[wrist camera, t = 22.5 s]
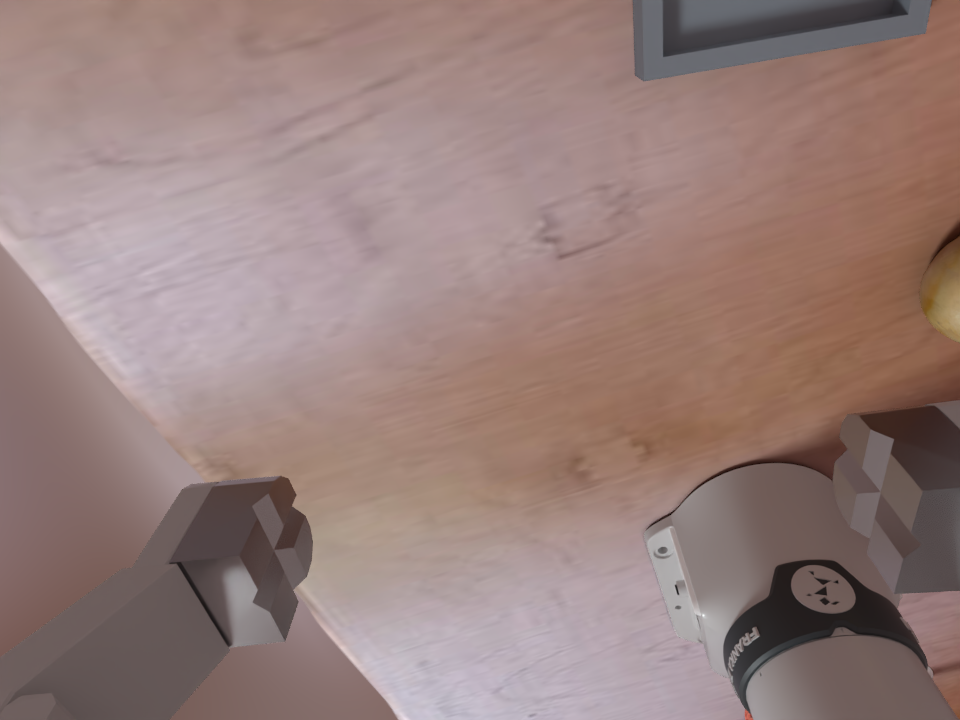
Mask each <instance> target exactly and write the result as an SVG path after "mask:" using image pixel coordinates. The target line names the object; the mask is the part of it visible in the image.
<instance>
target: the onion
mask: <svg viewBox="0 0 960 720" xmlns="http://www.w3.org/2000/svg"><path fill="white" fill-rule="evenodd" d="M919 296H920V305H921V308H922V310H923V313H924V314H925V316H926V318H927V319H928V321H929V322H930V324H931V325H932V326H933V327H934V328H935V329H937V330H938V331H939V332H940V333H942V334H943V335H945V336H946V337H948V338H950V339H952V340H954V341H956V342H959V343H960V235H959V236H958V237H957V239H955V240H953V241H952V242H950V243H949V244H947V245H946V246H945V247H944V248H943V249H942V250H941V251H940V252H939V253H938V254H937V255H936V256H935V258H934V259H933V261H932V262H931V263H930V265H929V266H928V268H927V270H926V271H925V273H924V275H923V278H922V281H921V285H920V291H919Z"/></svg>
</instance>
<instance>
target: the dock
mask: <svg viewBox="0 0 960 720" xmlns="http://www.w3.org/2000/svg"><path fill="white" fill-rule="evenodd" d="M931 1H932V0H633V21H634V55H635V76H637V77H638V78H640V79H641V80H643V81H649V80H654V79H660V78H666V77H672V76H678V75H684V74H690V73H696V72H702V71H707V70H713V69H719V68H725V67H731V66H737V65H743V64H749V63H754V62H760V61H766V60H772V59H778V58H784V57H790V56H796V55H801V54H807V53H813V52H819V51H825V50H831V49H837V48H843V47H849V46H854V45H860V44H866V43H872V42H878V41H884V40H890V39H896V38H901V37H907V36H913V35H919V34H925V33H926V28H927V23H928V17H929V12H930V7H931Z"/></svg>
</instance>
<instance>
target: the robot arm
mask: <svg viewBox="0 0 960 720" xmlns="http://www.w3.org/2000/svg"><path fill="white" fill-rule="evenodd" d="M839 438H840V439H841V441H842V442H843V443H844V445H845V446H846V447H847V450H846V451H845V452H844V453H843V454H842V455H841V456H840V457H839V458H838V459H837V460H836V461H835V464H834V472H833V481H831V480H830V479H829V478H828V477H826V476H825V475H823V474H821V473H819V472H817V471H815V470H813V469H810V468H807V467H804V466H799V465H794V464H786V463H766V464H757V465H751V466H746V467H742V468H739V469H735V470H732V471H729V472H727V473H724V474H722V475H720V476H718V477H716V478H714V479H712V480H710V481H708V482H707V483H705V484H703V485H702V486H701V487H699V488H698V489H697V490H695V491H694V492H693V493H692V494H691V495H690V496H689V497H688V498H687V499H686V500H685V501H684V502H683V503H682V504H681V505H680V506H679V508H678V509H677V510H676V511H675V512H674V513H673V514H671V515H670V516H668V517H666V518H664V519H663V520H661V521H659V522H657V523H655V524H654V525H652V526H651V527H649V528H648V529H647V530H646V531H645V533H644V540H645V543H646V546H647V549H648V552H649V555H650V558H651V561H652V564H653V567H654V570H655V573H656V576H657V579H658V583H659V586H660V589H661V592H662V595H663V598H664V601H665V604H666V607H667V610H668V613H669V616H670V619H671V622H672V625H673V627H674V630H675V632H676V634H677V636H678V637H679V638H682V639H685V640H688V641H691V642H696V643H701V644H703V646H704V649H705V652H706V656H707V659H708V662H709V665H710V667H711V669H712V670H713V671H714V672H715V673H717V674H719V675H721V676H723V677H726V678H729V679H730V682H731V684H732V687H733V689H734V691H735V693H736V695H737V696H738V698H739V699H740V700H741V703H742V704H743V706H744V708H745V709H746V710H745V719H746V720H959V719H958V718H957V716H956V715H955V713H954V712H953V710H952V709H951V707H950V706H949V704H948V702H947V701H946V699H945V698H944V696H943V695H942V693H941V692H940V690H939V689H938V687H937V686H936V684H935V683H934V681H933V679H932V678H931V676H930V675H929V673H928V672H927V670H928V664H927V659H926V656H925V654H924V652H923V651H922V649H921V647H920V646H919V644H918V643H919V641H918V639H917V637H916V635H915V634H914V632H913V630H912V629H911V627H910V626H909V624H908V623H907V622H906V621H905V620H904V619H903V617H902V616H901V614H900V613H899V611H898V610H897V608H898V605H899V601H900V599H901V598H902V594H904V593H923V592H942V591H960V400H955V401H947V402H940V403H932V404H926V405H924V406H915V407H906V408H897V409H888V410H880V411H871V412H862V413H854V414H847V416H846V417H845V419H844V421H843V422H842V425H841V430H840V435H839ZM295 497H296V493H295V491H294V489H293V487H292V485H291V483H290V481H289V479H288V478H285V477H282V476H274V477H262V478H250V479H239V480H227V481H221V482H210V483H198V484H191V485H189V486H187V487H186V488H184V489H182V490H181V492H180V494H179V495H178V497H177V498H176V500H175V501H174V503H173V504H172V506H171V507H170V509H169V511H168V512H167V514H166V515H165V517H164V518H163V520H162V521H161V523H160V525H159V526H158V528H157V529H156V531H155V532H154V534H153V535H152V537H151V539H150V540H149V542H148V543H147V545H146V546H145V548H144V549H143V551H142V553H141V554H140V556H139V557H138V559H137V560H136V562H135V563H134V565H133V567H132V568H124V569H121V570H119V571H118V572H117V573H115V574H114V575H112V576H111V577H110V578H108V579H107V580H106V581H104V582H103V583H102V584H100V585H99V586H97V587H96V588H95V589H93V590H92V591H91V592H89V593H88V594H86V595H85V596H84V597H82V598H81V599H80V600H78V601H77V602H75V603H74V604H73V605H71V606H70V607H69V608H67V609H66V610H64V611H63V612H62V613H60V614H59V615H58V616H56V617H55V618H54V619H52V620H51V621H49V622H48V623H47V624H45V625H44V626H42V627H41V628H40V629H38V630H37V631H36V632H34V633H33V634H32V635H30V636H29V637H27V638H26V639H25V640H23V641H22V642H21V643H19V644H18V645H17V646H15V647H14V648H12V649H11V650H10V651H8V652H7V653H5V654H4V655H3V656H2V657H0V720H170V719H171V717H172V716H173V715H174V714H175V713H176V712H177V711H178V709H179V708H180V707H181V706H182V705H183V704H184V703H185V701H186V700H187V699H188V698H189V697H190V696H191V695H192V693H193V692H194V691H195V690H196V689H197V688H198V686H200V684H201V683H202V682H203V681H204V680H205V679H206V678H207V676H208V675H209V674H210V673H211V672H212V671H213V670H214V669H215V667H216V666H217V665H218V664H219V663H220V662H221V661H222V659H223V658H224V657H225V656H226V654H228V652H229V651H230V649H229V647H239V646H248V645H258V644H267V643H276V642H285V640H286V638H287V635H288V631H289V629H290V626H291V623H292V620H293V617H294V613H295V611H296V608H297V604H298V600H297V597H296V595H295V593H294V591H293V589H294V588H295V587H296V586H297V585H298V584H300V583H301V582H302V581H303V580H304V579H305V578H306V577H307V574H308V571H309V568H310V564H311V561H312V547H313V540H312V535H311V529H310V526H309V523H308V521H307V518H306V516H305V515H304V514H302V513H301V512H299V511H298V510H296V509H295V508H293V507H292V504H293V502H294V499H295Z"/></svg>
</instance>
